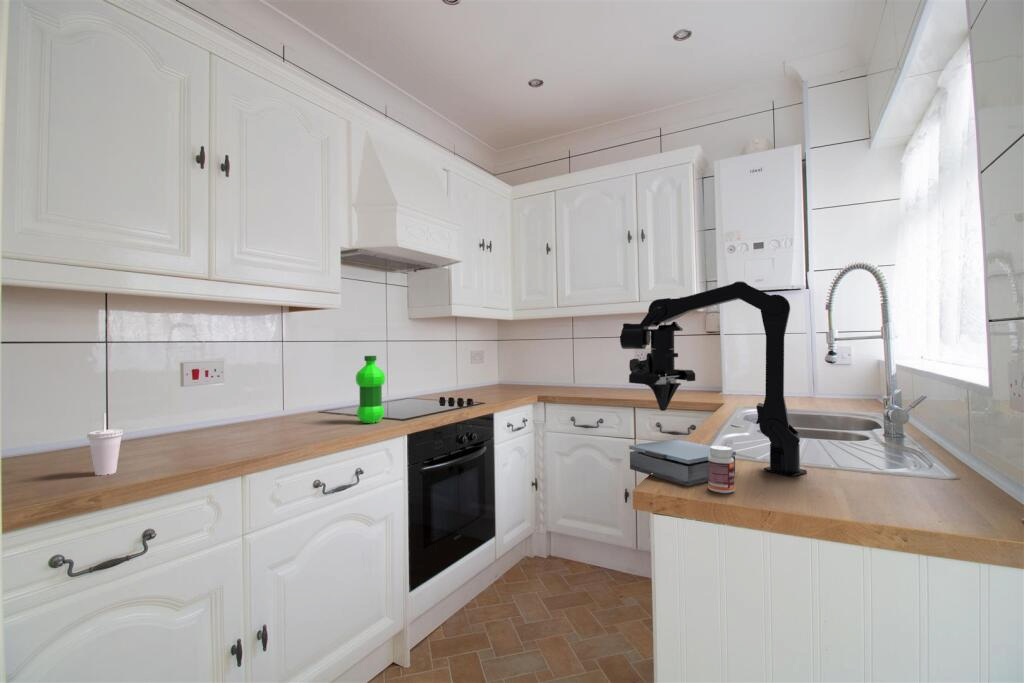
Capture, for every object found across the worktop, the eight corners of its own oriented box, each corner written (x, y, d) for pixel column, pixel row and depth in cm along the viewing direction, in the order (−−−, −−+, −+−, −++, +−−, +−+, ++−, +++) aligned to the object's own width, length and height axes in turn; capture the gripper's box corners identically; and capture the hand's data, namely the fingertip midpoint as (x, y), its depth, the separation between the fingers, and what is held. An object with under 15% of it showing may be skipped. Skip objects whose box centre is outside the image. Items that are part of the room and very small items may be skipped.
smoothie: (80, 478, 106) (80, 415, 106) (96, 470, 112) (96, 411, 112) (115, 475, 108) (114, 414, 108) (128, 468, 114) (128, 410, 114)
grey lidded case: (675, 459, 119) (675, 443, 119) (735, 474, 105) (735, 456, 105) (629, 469, 110) (629, 451, 111) (688, 486, 97) (688, 466, 97)
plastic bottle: (372, 425, 171) (371, 356, 171) (350, 423, 176) (349, 356, 176) (390, 421, 180) (390, 355, 181) (369, 419, 185) (368, 355, 185)
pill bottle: (735, 494, 92) (734, 451, 92) (708, 492, 93) (708, 449, 93) (733, 487, 96) (733, 446, 96) (708, 485, 98) (707, 444, 98)
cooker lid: (674, 442, 119) (674, 439, 119) (735, 455, 105) (735, 451, 105) (626, 449, 110) (626, 446, 110) (685, 464, 96) (685, 460, 96)
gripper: (662, 348, 133) (662, 404, 133) (613, 349, 123) (613, 409, 123) (696, 348, 123) (696, 409, 123) (646, 349, 114) (646, 415, 113)
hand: (662, 410), depth 121 cm, fingers closed
